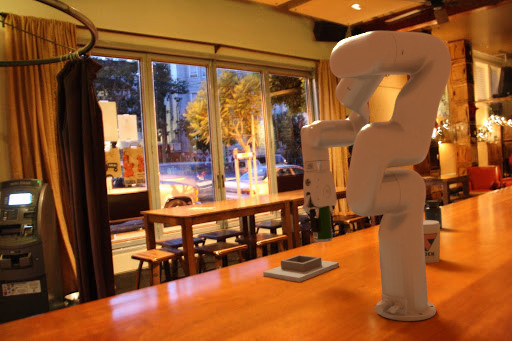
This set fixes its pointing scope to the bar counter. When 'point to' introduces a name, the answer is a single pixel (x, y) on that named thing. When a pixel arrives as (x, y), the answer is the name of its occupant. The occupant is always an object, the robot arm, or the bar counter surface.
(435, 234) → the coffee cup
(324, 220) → the beer can
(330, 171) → the robot arm
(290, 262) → the holder board
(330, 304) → the bar counter surface
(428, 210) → the supplement bottle
